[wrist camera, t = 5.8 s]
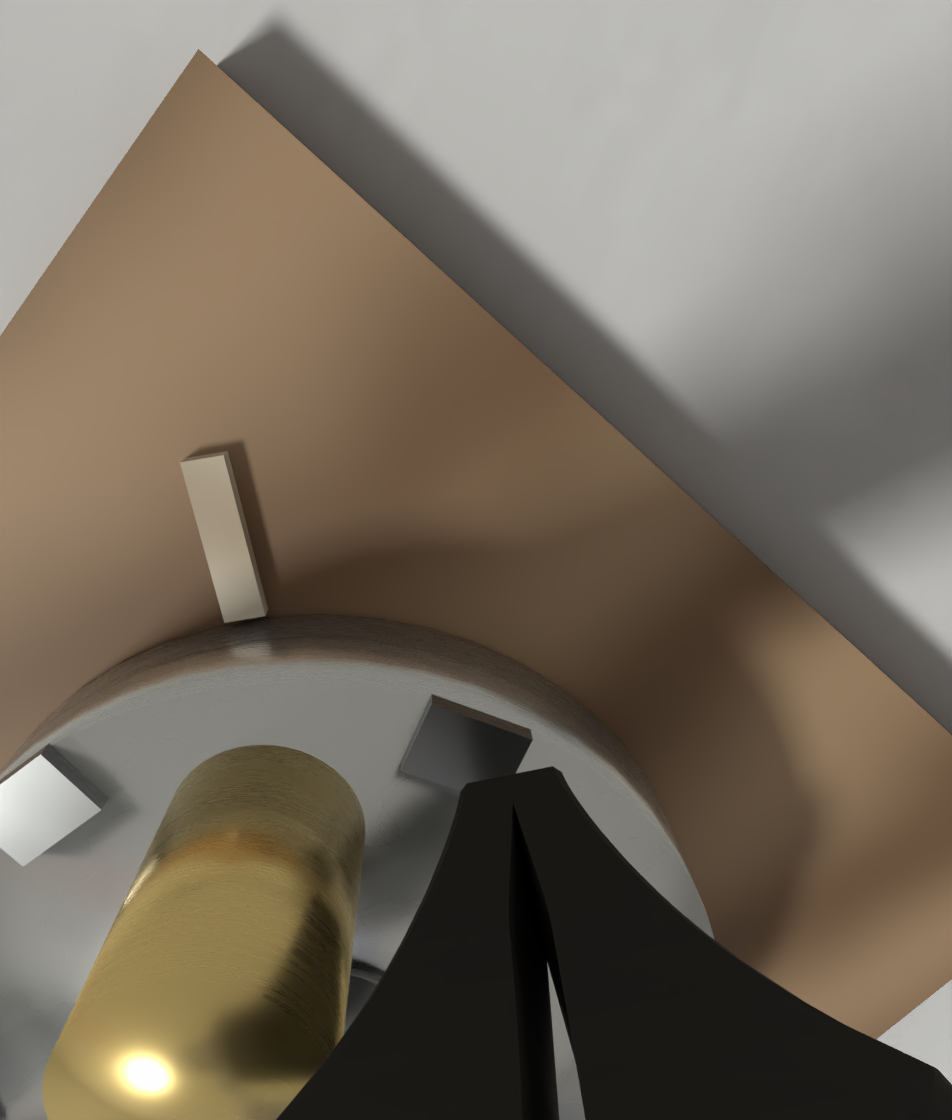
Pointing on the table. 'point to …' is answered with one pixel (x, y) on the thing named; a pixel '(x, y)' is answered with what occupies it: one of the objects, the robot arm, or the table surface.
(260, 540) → the base plate
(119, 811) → the round metal turntable
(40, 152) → the table surface
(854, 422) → the table surface
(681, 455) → the table surface
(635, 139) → the table surface
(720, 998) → the robot arm
